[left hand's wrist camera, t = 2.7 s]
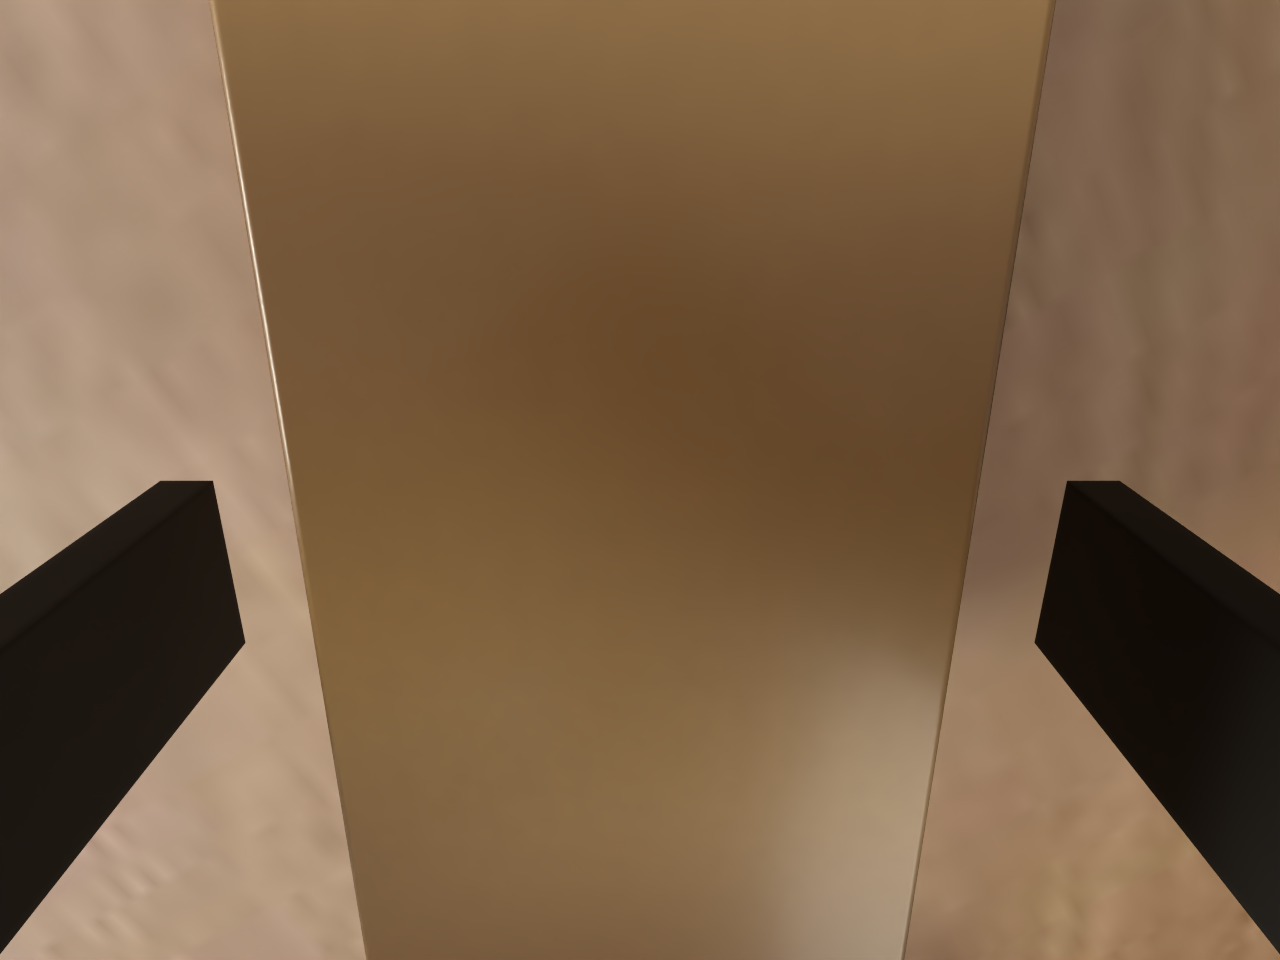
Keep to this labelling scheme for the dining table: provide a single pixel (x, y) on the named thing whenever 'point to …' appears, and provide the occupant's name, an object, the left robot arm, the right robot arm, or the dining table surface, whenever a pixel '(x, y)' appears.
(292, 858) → the dining table surface
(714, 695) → the bar
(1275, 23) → the dining table surface
